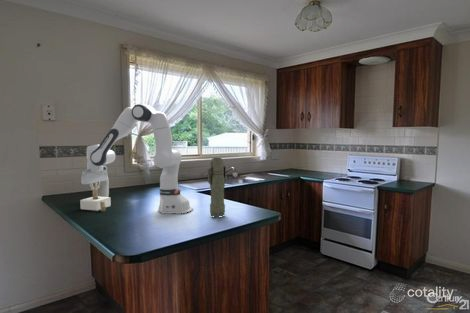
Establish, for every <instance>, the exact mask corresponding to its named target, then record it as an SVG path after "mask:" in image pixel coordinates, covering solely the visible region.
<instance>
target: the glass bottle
mask: <svg viewBox="0 0 470 313" xmlns="http://www.w3.org/2000/svg"><path fill="white" fill-rule="evenodd" d="M106 165H107V164H104V165H102V166H105V167H107V166H106ZM107 176H109V175H108V174H107ZM109 179H110V178H109V177H107V180H105V181H101V183H100V186H99V188H98V196H100V197H109V195H110V189H109V188H110V182H109Z"/></svg>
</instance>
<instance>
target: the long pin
mask: <svg viewBox="0 0 470 313" xmlns="http://www.w3.org/2000/svg"><path fill="white" fill-rule="evenodd" d="M93 187H95V189H94V190H92V197H93V199H95V200H96V199H98V188H97V182H95V183H93Z"/></svg>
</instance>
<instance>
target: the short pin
mask: <svg viewBox="0 0 470 313" xmlns="http://www.w3.org/2000/svg"><path fill="white" fill-rule="evenodd" d="M100 207H101V209H100V212H106V210H107V209H106V208H107V207H106V204H105V201H101V202H100Z"/></svg>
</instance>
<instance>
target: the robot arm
mask: <svg viewBox="0 0 470 313" xmlns="http://www.w3.org/2000/svg"><path fill="white" fill-rule="evenodd" d="M167 117H168V116H167V115H166V114H165V113H164V112H162V111H158V110H157V108H155V107H154V106H153V107H152V106H150V105H147V104H143V103H137V104H135V105H133V107H131V106H128V107H125V108H124V109H123V111H122V112H121V114H120V115H119V116H118V117H117V119H116V121H115V122H114V125H113V126H112V128H111V129H109V131H108V133H107V134H106V135H105V137H104V138H103V139H102V140H101V142H100V143H99V144H98V143H94V144H90V145H88V146H87V147H86V160H87V162H86V169H84V170H83V171H82V172H81V178H80V182H81V184H82V185H89V187H90V190H91V191H93V190H94V189H95V187H93V183H95V182H97V188H99V186H100V183H101V181H105V180H107V177H108V176H109V175H108V167H107V166H106V167H105V166H102V165H104V164H105V165H108V164H112V163H113V162H115V161H116V153H115V151H114V150H112V149H111V148H112V146H113V145H114V144H115V143H116V142H117V141H119V140H120V139H123V138H125V137H127V136H129V134H130V133H131V132H132V131H133V130H134V128H135V126H136V124H137V123H138V122H143V123H148V124H149V123H150V125H151V128H152V132H153V136H154V137H153V138H154V143H155V154H154V155H153V163H154V165H155V166H156V167H157V168H161V169H162V171H161V174H160V177H159V186H160V187H159V206H158V209H157V210H158V212H160V213H161V214H172V213H176V214H177V215H178V214H181V213H182V214H183V213H185V214H188V213H190V211H191V212H192V211H193V210H194V207H193V206H191V205H190V204H191V203H190V201H189V199H188V198H186V197H185V196H184V195H183V194H181V192H182V188H179V187H178V184H179V182H178V180H179V179H178V178H179V170H180V169H179V168H180V164H181V162H182V160H183V155H182V154H181V152H180V151H178V150H177V149H172V146H173V144H172V142H173V140H174V137H173V134H172V130H171V125H170V122H169V119H168V118H167ZM107 175H108V176H107ZM108 178H109V177H108ZM187 212H188V213H187ZM182 214H181V215H182Z"/></svg>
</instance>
